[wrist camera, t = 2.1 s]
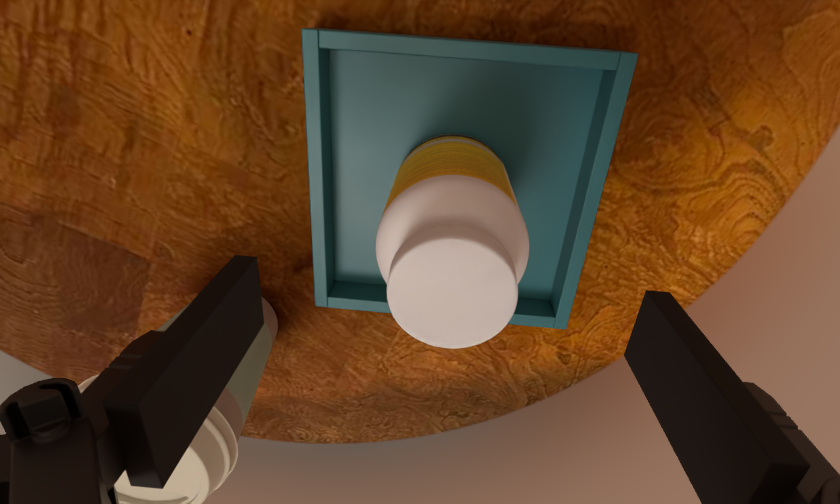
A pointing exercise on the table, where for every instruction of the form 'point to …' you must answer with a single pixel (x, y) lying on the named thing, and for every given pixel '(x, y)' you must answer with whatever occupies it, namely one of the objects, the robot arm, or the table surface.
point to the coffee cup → (210, 430)
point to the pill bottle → (452, 243)
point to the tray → (468, 115)
